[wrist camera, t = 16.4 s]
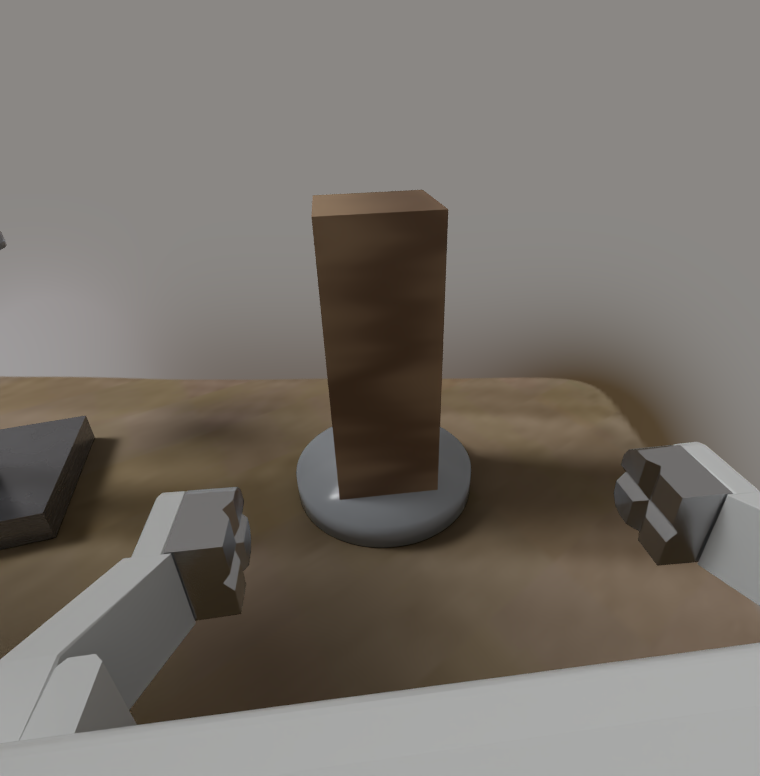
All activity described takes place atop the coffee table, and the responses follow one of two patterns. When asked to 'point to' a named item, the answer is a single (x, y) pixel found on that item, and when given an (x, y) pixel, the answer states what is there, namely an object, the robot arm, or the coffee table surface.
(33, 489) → the balance
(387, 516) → the grey flat pebble
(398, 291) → the pillar
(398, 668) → the coffee table surface
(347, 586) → the coffee table surface
